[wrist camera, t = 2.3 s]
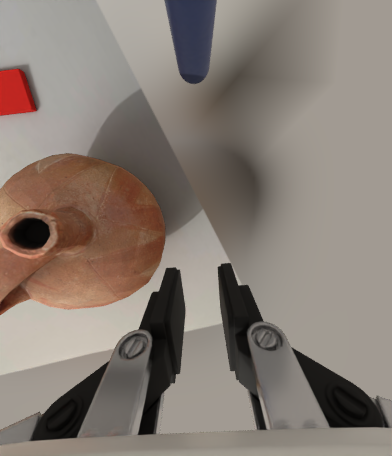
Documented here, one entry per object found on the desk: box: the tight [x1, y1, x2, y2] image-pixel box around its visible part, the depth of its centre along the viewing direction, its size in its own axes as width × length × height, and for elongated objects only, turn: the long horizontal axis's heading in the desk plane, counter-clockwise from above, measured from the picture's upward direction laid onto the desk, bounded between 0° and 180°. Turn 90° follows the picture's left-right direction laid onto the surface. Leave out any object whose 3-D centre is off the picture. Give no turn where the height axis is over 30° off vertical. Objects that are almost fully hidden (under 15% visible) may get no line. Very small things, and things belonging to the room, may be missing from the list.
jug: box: [0, 153, 165, 315], centre depth 20 cm, size 18×18×20 cm
